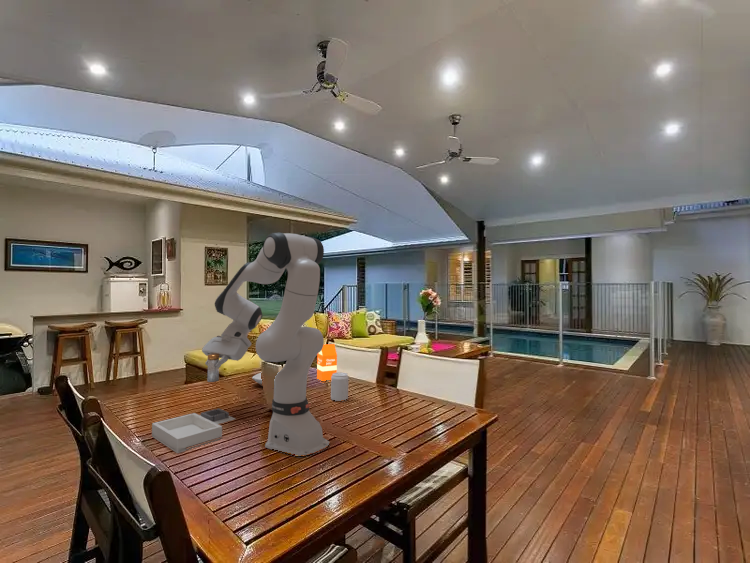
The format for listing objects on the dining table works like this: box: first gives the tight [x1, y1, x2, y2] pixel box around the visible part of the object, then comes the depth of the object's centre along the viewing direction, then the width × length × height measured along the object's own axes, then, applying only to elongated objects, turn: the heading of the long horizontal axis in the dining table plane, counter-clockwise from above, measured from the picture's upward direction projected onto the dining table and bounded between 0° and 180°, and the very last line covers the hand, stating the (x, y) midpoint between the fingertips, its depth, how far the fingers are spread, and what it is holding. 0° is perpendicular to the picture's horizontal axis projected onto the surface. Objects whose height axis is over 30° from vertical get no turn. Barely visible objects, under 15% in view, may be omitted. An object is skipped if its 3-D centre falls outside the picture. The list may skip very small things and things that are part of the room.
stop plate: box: [199, 408, 236, 425], centre depth 153 cm, size 14×10×3 cm
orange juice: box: [316, 343, 338, 382], centre depth 220 cm, size 8×9×20 cm
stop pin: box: [206, 354, 220, 383], centre depth 151 cm, size 4×4×10 cm
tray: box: [151, 412, 223, 454], centre depth 136 cm, size 20×15×4 cm
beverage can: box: [330, 371, 349, 402], centre depth 184 cm, size 8×8×12 cm
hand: (211, 365), depth 150 cm, fingers closed on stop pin, 4 cm apart
